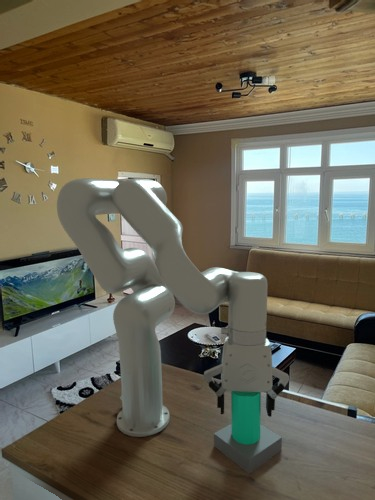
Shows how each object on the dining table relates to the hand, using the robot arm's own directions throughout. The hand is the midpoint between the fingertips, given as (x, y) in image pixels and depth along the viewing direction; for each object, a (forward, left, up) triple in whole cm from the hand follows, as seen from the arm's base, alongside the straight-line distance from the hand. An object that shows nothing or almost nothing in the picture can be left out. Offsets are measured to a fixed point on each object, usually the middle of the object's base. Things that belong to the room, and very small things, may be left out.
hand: (245, 411), depth 75 cm
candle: (0, 0, -6) cm, 6 cm away
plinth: (0, 0, -8) cm, 8 cm away
